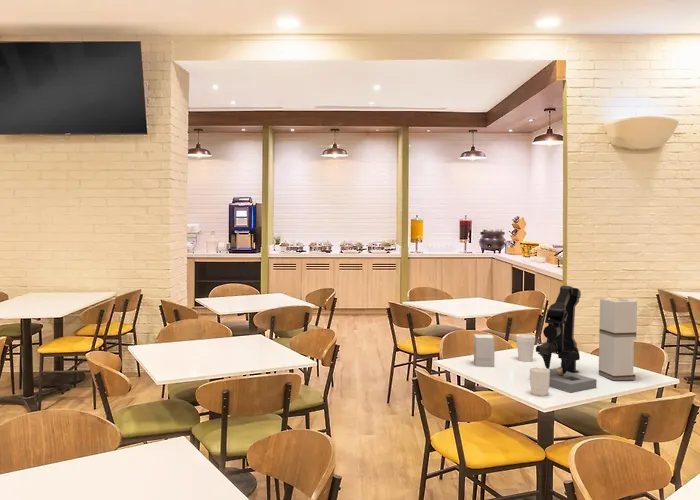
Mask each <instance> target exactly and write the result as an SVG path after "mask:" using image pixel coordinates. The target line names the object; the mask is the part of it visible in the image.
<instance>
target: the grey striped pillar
mask: <svg viewBox="0 0 700 500" xmlns="http://www.w3.org/2000/svg"><path fill="white" fill-rule="evenodd" d="M637 320H638V300H633V299H632V300H631V299H627V298H622V297H621V298H620V297H619V299H618V300H610V299H605V298H599V326H598V327H599V330H598V333H599V334H598V375H600V376H602V377H605V378H607V379H609V380H612V381H631V380H633V381H634V380H636V378H637V377H636V374H634V363H635V361H634V358H635V357H634V356H635V355H634V354H635V353H634V352H635V351H634V350H635V348H634V347H635V341H637V328H638V327H637V325H638V324H637V323H638V322H637Z"/></svg>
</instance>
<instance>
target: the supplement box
mask: <svg viewBox="0 0 700 500" xmlns="http://www.w3.org/2000/svg"><path fill="white" fill-rule="evenodd" d="M473 364H474V366H475V367H476V368H495V337H494V335H493V334H480V333H479V334H477V333H476V334H475V333H474V334H473Z"/></svg>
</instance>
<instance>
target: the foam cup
mask: <svg viewBox="0 0 700 500" xmlns="http://www.w3.org/2000/svg"><path fill="white" fill-rule="evenodd" d="M515 337H516V338H515V340H516V346H517V347H516V349H517V354H518V355H517V356H518V360H519V361H520V362H524V363H531V362H532V361H533V356H534V350H535V343H536V335H534V334H529V333H518V334H516V335H515Z"/></svg>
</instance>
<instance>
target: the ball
mask: <svg viewBox="0 0 700 500" xmlns="http://www.w3.org/2000/svg"><path fill="white" fill-rule="evenodd" d="M556 369H557V370H556V372H557V374H558V375H560V376H562V375H564V374H563V368H561V366H559V367H557V368H556Z"/></svg>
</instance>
